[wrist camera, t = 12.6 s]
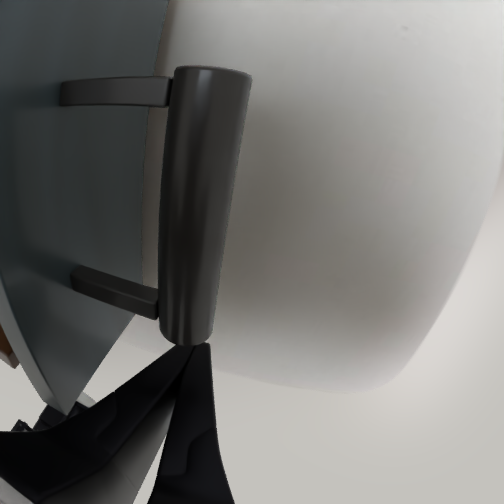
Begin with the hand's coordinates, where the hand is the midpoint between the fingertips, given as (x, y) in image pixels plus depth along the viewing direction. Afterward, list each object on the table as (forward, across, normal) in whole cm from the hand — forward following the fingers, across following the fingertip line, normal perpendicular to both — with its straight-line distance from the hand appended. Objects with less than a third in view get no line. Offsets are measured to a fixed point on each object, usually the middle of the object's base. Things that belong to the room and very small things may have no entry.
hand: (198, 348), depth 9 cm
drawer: (+3, +8, -5) cm, 10 cm away
